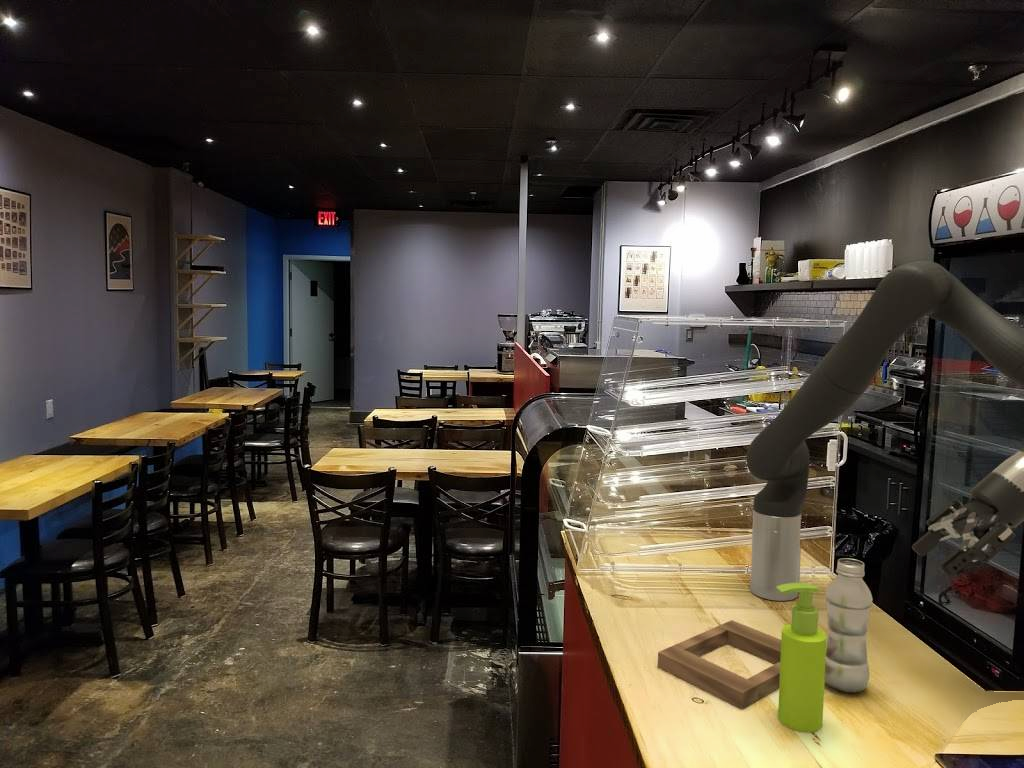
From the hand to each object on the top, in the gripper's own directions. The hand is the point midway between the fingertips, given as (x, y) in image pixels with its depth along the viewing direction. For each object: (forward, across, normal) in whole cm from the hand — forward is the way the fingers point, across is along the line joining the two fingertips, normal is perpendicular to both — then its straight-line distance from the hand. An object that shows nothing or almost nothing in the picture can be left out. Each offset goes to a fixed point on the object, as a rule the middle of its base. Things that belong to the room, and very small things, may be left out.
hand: (929, 561), depth 109 cm
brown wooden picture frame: (+33, -5, -4) cm, 34 cm away
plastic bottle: (+23, 0, +7) cm, 24 cm away
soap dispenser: (+30, +10, -1) cm, 32 cm away
